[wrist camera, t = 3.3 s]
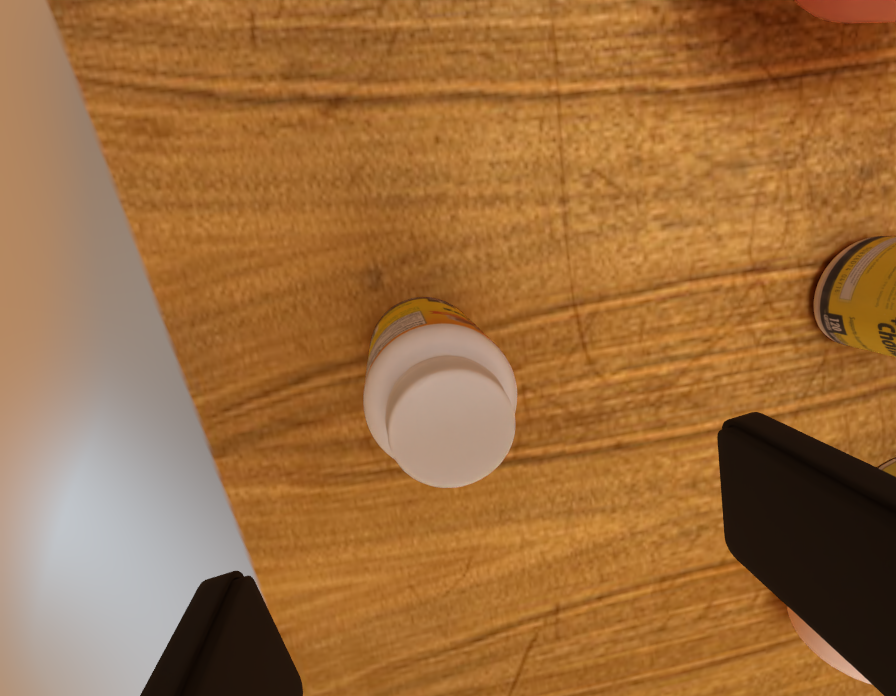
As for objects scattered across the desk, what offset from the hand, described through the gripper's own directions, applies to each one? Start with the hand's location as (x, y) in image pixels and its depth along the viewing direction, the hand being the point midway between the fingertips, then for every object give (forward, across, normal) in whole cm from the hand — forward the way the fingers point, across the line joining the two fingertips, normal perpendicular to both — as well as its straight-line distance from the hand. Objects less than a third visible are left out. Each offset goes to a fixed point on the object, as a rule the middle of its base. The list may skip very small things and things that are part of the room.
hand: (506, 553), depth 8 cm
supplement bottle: (+15, 0, 0) cm, 15 cm away
